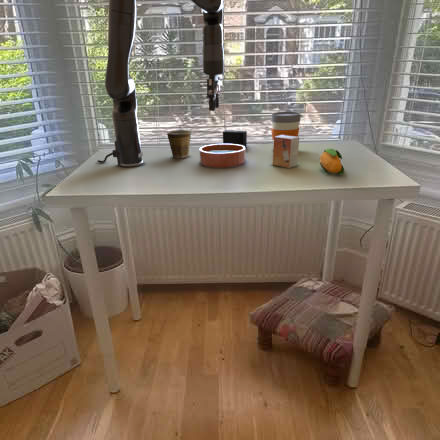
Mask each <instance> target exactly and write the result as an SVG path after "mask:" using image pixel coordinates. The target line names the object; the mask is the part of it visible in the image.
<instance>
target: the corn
mask: <svg viewBox="0 0 440 440" xmlns="http://www.w3.org/2000/svg"><path fill="white" fill-rule="evenodd" d="M342 160H343V156H342V154H341V153H340V151H338V150H337V149H334V148H326V149H324V150H323V152H322V153H321V155H320V158H319V165H320V166H321V169H322V170H324V172H325V173H327V174H330V173H331V174H338V175H339V176H340V175H344V173H345V167H344V165H343V163H342V162H341V161H342Z"/></svg>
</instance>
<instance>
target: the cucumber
mask: <svg viewBox="0 0 440 440" xmlns="http://www.w3.org/2000/svg"><path fill="white" fill-rule="evenodd" d="M209 152H210V153H229V152H236V151H209Z"/></svg>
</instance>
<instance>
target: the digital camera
mask: <svg viewBox="0 0 440 440" xmlns="http://www.w3.org/2000/svg"><path fill="white" fill-rule="evenodd" d="M247 134H248V131H247V130H236V129H235V130H233V129H226V130H224V131H222V144H237V145H242V146H244V147H245V148H247V146H248V145H247V142H248V139H247V138H248V135H247Z"/></svg>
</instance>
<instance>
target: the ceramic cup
mask: <svg viewBox="0 0 440 440" xmlns="http://www.w3.org/2000/svg"><path fill="white" fill-rule="evenodd" d="M166 134H167V139H168V144H169V147H170V151H171V154H172V158H175V159H186V158H188V157H189V155H190V145H191V138H192V137H191V136H192V132H191V130H187V129H176V130H170V131H167V132H166Z"/></svg>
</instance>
